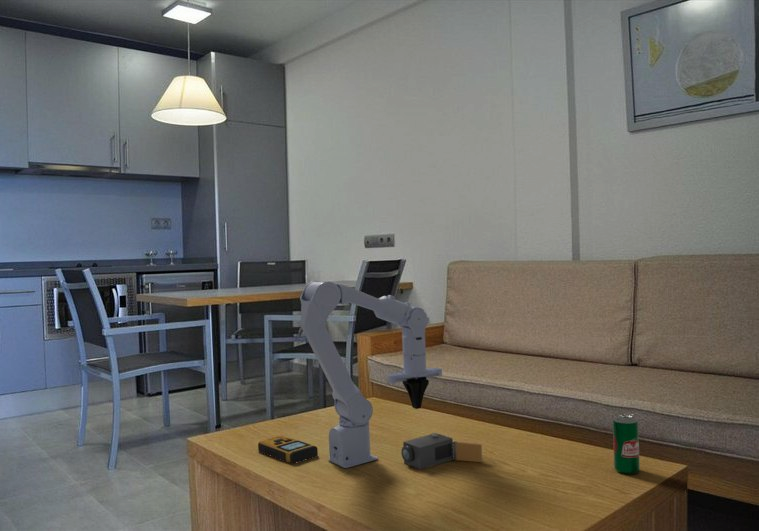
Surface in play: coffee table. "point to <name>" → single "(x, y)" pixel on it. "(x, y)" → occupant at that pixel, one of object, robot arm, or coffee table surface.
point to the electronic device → (287, 449)
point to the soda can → (626, 443)
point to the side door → (467, 451)
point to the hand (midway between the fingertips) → (416, 407)
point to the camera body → (427, 451)
